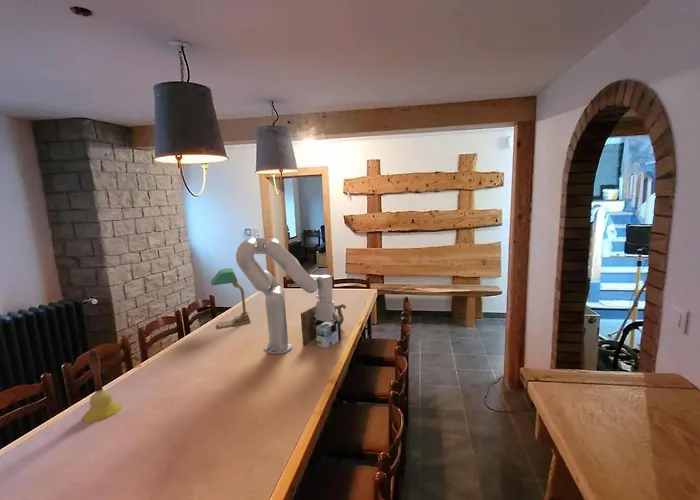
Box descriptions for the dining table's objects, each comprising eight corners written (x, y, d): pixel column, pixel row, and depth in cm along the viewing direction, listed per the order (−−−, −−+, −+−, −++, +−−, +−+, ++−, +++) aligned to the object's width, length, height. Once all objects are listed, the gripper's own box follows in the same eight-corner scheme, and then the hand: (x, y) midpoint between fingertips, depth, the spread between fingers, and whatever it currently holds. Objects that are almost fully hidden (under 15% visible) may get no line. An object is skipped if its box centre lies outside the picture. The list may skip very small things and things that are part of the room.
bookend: (340, 340, 194) (339, 317, 192) (319, 336, 200) (318, 314, 198) (341, 339, 194) (340, 316, 192) (320, 336, 201) (318, 313, 199)
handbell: (115, 399, 146) (106, 341, 142) (126, 409, 138) (117, 348, 134) (78, 414, 136) (67, 352, 132) (88, 426, 128) (77, 360, 125)
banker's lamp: (251, 324, 225) (246, 270, 220) (216, 330, 218) (209, 274, 213) (248, 317, 240) (243, 266, 235) (215, 323, 232) (209, 270, 227)
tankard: (312, 329, 213) (310, 304, 211) (323, 321, 224) (321, 298, 222) (341, 333, 204) (340, 307, 201) (351, 325, 215) (350, 301, 212)
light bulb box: (326, 348, 184) (325, 328, 182) (316, 346, 188) (315, 326, 186) (339, 341, 193) (338, 322, 191) (329, 339, 197) (328, 320, 195)
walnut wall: (304, 346, 188) (301, 313, 186) (303, 346, 189) (300, 313, 186) (320, 336, 201) (318, 305, 199) (319, 335, 202) (316, 304, 199)
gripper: (307, 298, 188) (308, 330, 190) (335, 302, 179) (336, 335, 182) (315, 295, 194) (316, 325, 196) (343, 299, 186) (343, 330, 188)
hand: (326, 330), depth 189 cm, fingers open, 9 cm apart
